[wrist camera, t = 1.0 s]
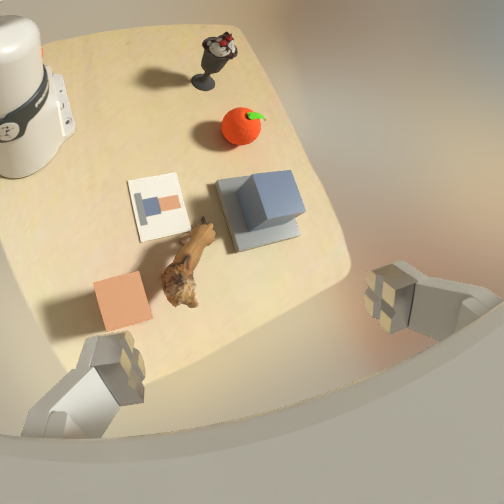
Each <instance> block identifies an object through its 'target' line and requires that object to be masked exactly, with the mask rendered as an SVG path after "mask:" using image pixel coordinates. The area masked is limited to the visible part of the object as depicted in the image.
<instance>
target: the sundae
mask: <svg viewBox="0 0 504 504" xmlns="http://www.w3.org/2000/svg"><path fill="white" fill-rule="evenodd" d="M202 46H203V48H204V54H203V57H202V62H201V66H202V68H203V70H204V71H205V73H204V74H197V75H195V76H193V78H192V84H193V85H194V86H195V87H196V88H198V89H200V90H205V91H207V90H211V89H213V88H214V87H215V81H214V80H213V79H212V78H211V77H210V74H213V73H217V72H219V71H220V70H221V69H222V68H223V67H224V65H225V64H226V63H227V61H228V60H229V59H233V58H234V57H236V56H237V48H236V46H235V45H234V38H233V37H232V34H229V33H228V32H225V33H224V34H223V35H220V36H218V37H209V38H207V39H205V40H204V41H203V43H202Z"/></svg>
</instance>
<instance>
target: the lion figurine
mask: <svg viewBox="0 0 504 504" xmlns="http://www.w3.org/2000/svg"><path fill="white" fill-rule="evenodd" d="M201 222H202V224H201V225H198V226H196V227H195V228H193V229H192V230H191V232H190V233H189V234H188V235H186V236H184V237H182V238H180V243H181V244H182V245H184V246H183V247H182V248H181V249H180V251H179V252H178V253H177V255H176V257H175V259H174V261H173V263H171V264H170V265H169V266H168V267H167V268H166V269H165V271H164V273H163V274H162V275H161V277H162V281H163V282H162V287H163V290H164V294H165V295H166V297H167V300H168V301H169V302H170V303H171V304H172V305H173V306H175V307H176V306H178V305H180V304H185V305H187V306H188V307H189V308H195V307H197V306H198V302H197V299H196V298H195V297H194V296H195V292H194V289H195V287H196V284H195V281H194V278H193V270H194V269H195V267H196V266H197V264H198V262H199V260H200V257H201V255H202V252H203V250H204V248H205V247H206V246H209V245H210V244H211V243H212V242H213V241H214V239H215V234H216V233H215V231H214V230H213V224H212V223H206V222H205V218H204V217H202V219H201Z"/></svg>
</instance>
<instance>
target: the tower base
mask: <svg viewBox="0 0 504 504" xmlns="http://www.w3.org/2000/svg"><path fill="white" fill-rule="evenodd" d="M215 187H216V190H217V193H218V196H219V200H220V203H221V206H222V209H223V213H224V216H225V219H226V222H227V226H228V229H229V232H230V235H231V238H232V242H233V245H234V248H235V251H236V253H238V252H242V251H245V250H249V249H253V248H257V247H261V246H265V245H268V244H272V243H276V242H280V241H284V240H288V239H291V238H295V237H298V236H300V235H301V234H300V231H299V228H298V225H297V222H296V220H295V218H296V217H297V216H299V215H301V214H302V213H304V212H306V210H305V207H304V204H303V201H302V199H301V196H300V193H299V191H298V188H297V185H296V182H295V180H294V177H293V174H292V172H291V170H286V171H277V172H267V173H259V174H252V175H251V176H243V177H236V178H228V179H221V180H217V181H216V183H215Z"/></svg>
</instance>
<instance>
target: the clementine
mask: <svg viewBox="0 0 504 504" xmlns="http://www.w3.org/2000/svg"><path fill="white" fill-rule="evenodd" d="M260 118H263V119H265V118H264V116H263V115H261V114H259V113H255V112H253V111H252V110H250V109H248V108H235V109H233V110H231V111H229V112H228V113H227V114H226V115H225V116H224V118H223V121H222V125H221V128H222V133H223V135H224V137H225V138H226V139H227V140H228V141H229V142H231V143H233V144H236V145H246V144H249V143H251V142H253V141H254V140H255V139H256V138H257V137H258V135H259V133H260V130H261V123H260V120H259V119H260Z"/></svg>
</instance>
